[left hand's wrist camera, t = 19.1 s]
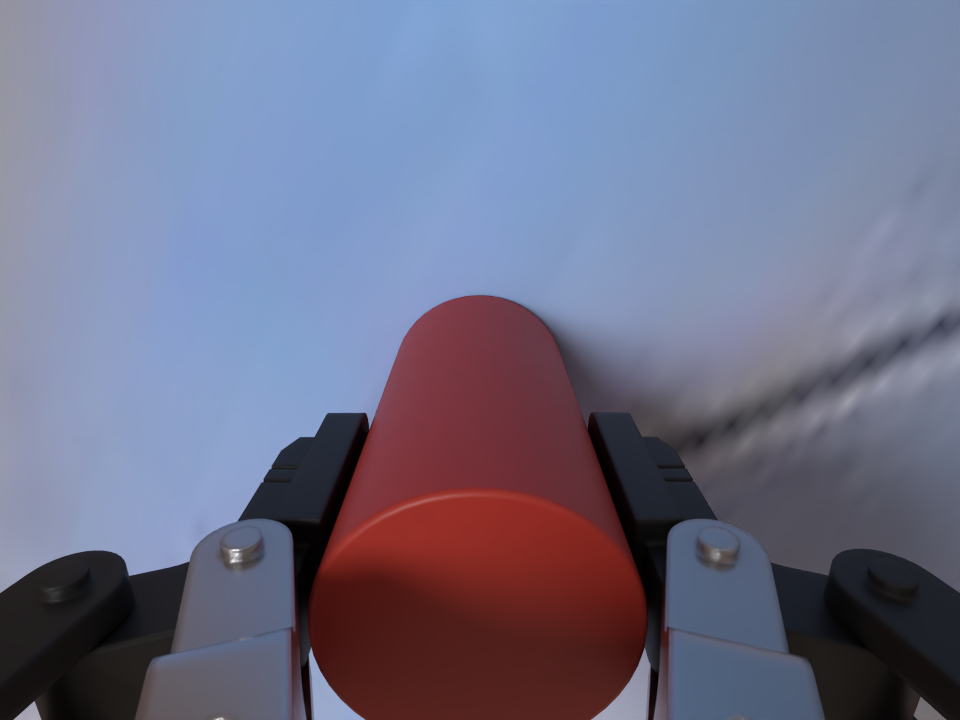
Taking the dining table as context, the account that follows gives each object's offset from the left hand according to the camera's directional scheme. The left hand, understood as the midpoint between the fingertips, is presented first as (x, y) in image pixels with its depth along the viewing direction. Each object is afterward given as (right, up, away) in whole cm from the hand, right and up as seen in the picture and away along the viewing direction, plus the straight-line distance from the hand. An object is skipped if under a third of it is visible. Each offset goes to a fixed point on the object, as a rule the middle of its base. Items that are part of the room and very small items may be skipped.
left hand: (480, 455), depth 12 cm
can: (0, +2, +4) cm, 4 cm away
